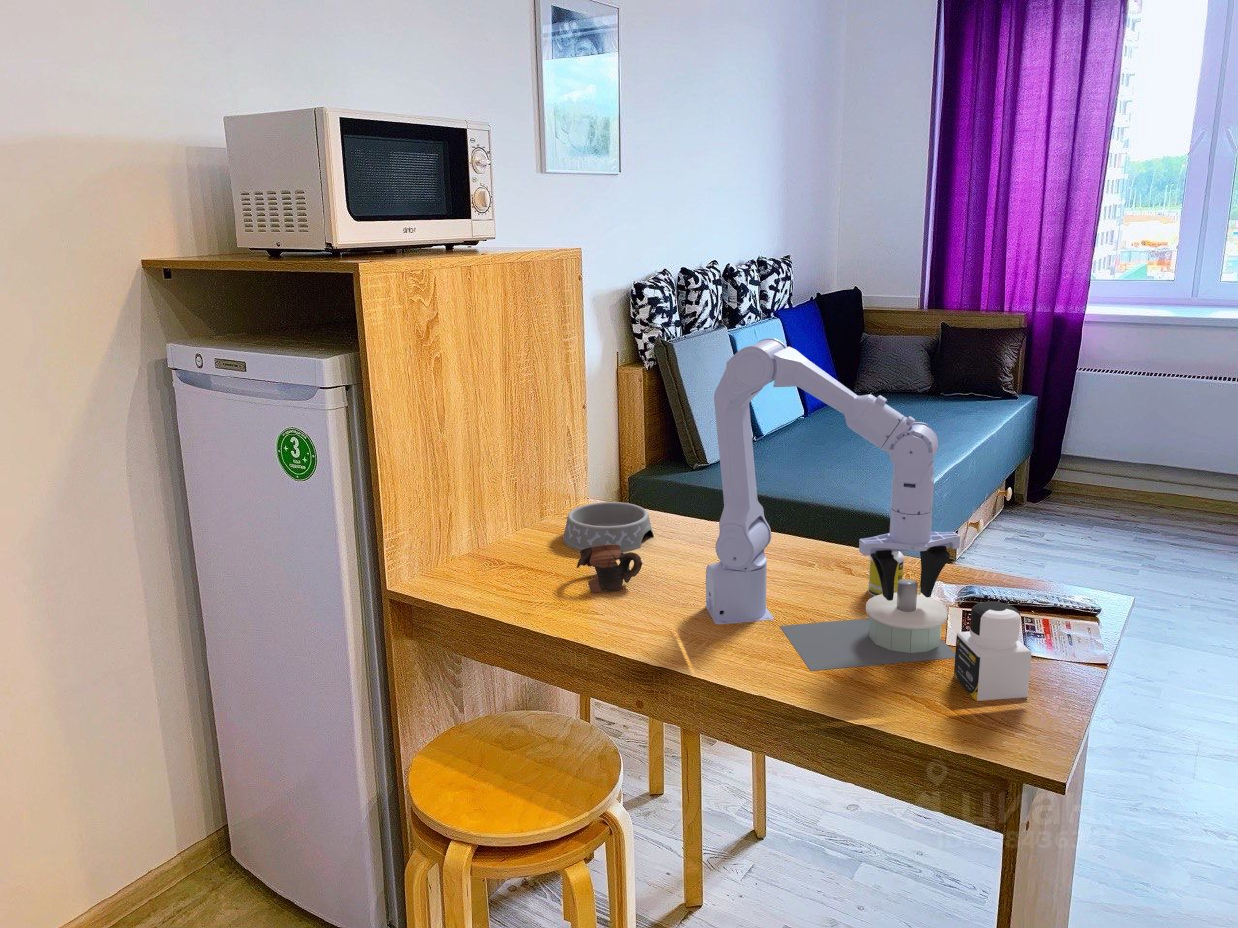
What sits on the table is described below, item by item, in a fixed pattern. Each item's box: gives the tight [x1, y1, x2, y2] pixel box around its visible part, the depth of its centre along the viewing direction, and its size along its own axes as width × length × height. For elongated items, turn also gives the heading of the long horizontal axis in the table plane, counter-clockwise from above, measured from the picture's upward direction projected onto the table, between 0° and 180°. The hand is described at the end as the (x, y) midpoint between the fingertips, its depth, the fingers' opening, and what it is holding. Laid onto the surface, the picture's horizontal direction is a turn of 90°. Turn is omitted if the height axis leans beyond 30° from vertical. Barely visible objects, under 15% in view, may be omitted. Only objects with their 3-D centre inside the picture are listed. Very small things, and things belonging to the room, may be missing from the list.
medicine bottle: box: [953, 600, 1032, 702], centre depth 127 cm, size 7×7×12 cm
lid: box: [865, 578, 949, 630], centre depth 142 cm, size 12×12×5 cm
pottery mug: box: [576, 544, 643, 593], centre depth 169 cm, size 12×10×8 cm
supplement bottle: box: [867, 551, 905, 597], centre depth 159 cm, size 5×5×10 cm
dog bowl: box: [562, 501, 655, 553], centre depth 192 cm, size 17×18×5 cm
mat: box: [779, 617, 955, 672], centre depth 143 cm, size 22×15×1 cm
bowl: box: [869, 617, 942, 653], centre depth 143 cm, size 10×10×4 cm
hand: (906, 596), depth 142 cm, fingers open, 5 cm apart
